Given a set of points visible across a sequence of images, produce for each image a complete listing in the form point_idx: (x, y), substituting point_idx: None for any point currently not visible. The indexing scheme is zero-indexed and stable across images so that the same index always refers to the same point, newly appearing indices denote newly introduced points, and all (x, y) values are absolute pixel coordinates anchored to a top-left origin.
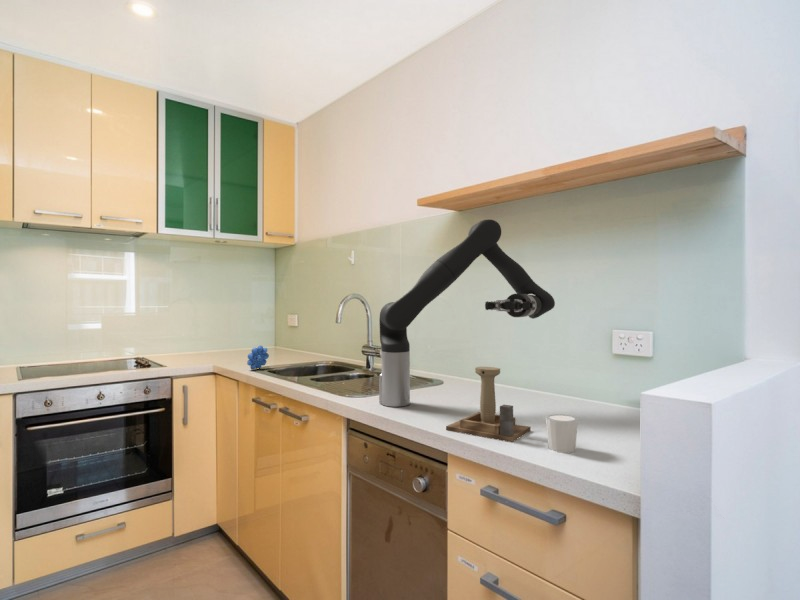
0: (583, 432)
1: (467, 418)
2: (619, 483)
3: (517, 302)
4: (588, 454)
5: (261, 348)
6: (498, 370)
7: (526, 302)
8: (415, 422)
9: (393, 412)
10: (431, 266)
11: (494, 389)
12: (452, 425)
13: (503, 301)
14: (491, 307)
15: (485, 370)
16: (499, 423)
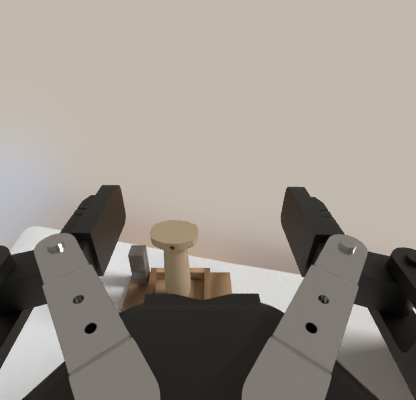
0: (12, 386)
1: (205, 278)
2: (31, 234)
3: (91, 205)
4: None
5: None
6: (151, 231)
7: (9, 253)
8: (288, 284)
9: (369, 311)
10: None
11: (164, 261)
12: (224, 278)
13: (286, 317)
14: (296, 244)
15: (172, 221)
16: (154, 279)
